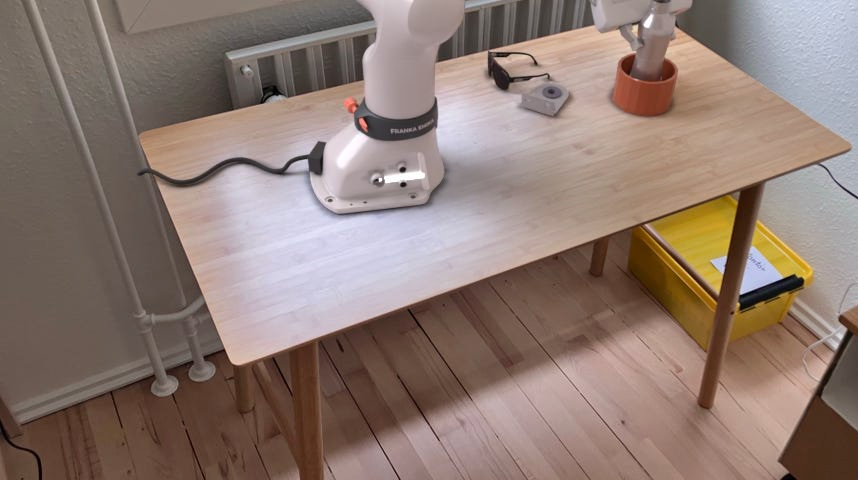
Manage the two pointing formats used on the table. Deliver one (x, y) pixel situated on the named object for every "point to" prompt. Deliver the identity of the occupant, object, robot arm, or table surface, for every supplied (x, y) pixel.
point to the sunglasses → (502, 75)
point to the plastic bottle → (653, 41)
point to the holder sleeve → (644, 89)
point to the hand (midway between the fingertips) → (654, 44)
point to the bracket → (546, 98)
